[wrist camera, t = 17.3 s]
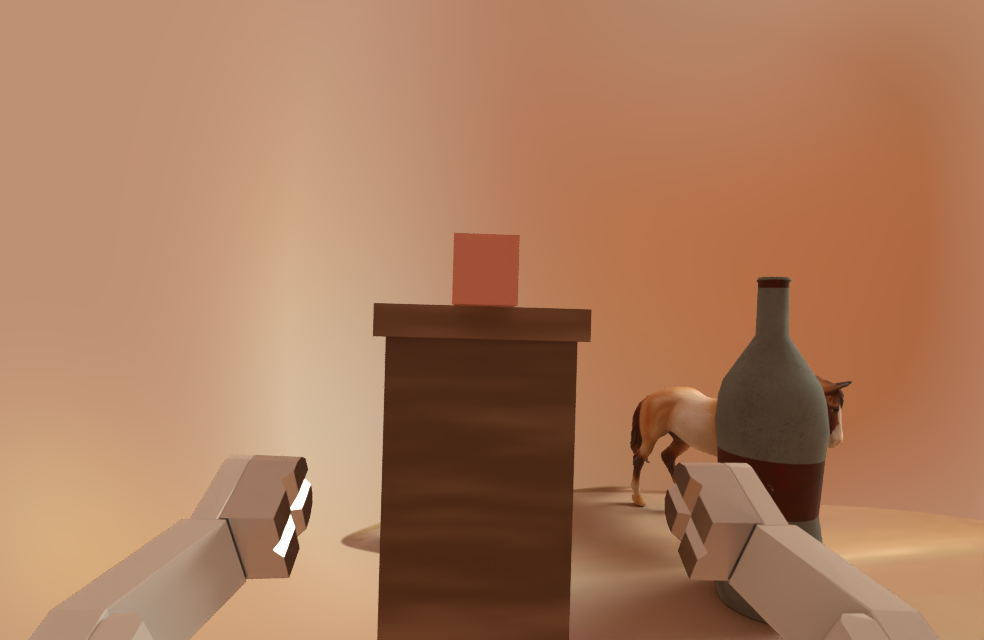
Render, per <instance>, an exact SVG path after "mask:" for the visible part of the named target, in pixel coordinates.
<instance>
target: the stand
mask: <svg viewBox="0 0 984 640" xmlns="http://www.w3.org/2000/svg"><path fill="white" fill-rule="evenodd" d="M373 336H386V352H385V353H386V354H385V389H384V425H383V459H382V462H383V463H382V495H381V530H380V566H379V567H380V568H379V569H380V570H379V603H378V637H377V638H378V639H377V640H569V616H570V581H571V546H572V511H573V475H574V442H575V407H576V405H575V404H576V372H577V371H576V370H577V342H590V339H591V338H590V337H591V310H587V309H586V310H585V309H553V308H519V307H487V306H453V305H418V304H385V303H374V320H373Z"/></svg>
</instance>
